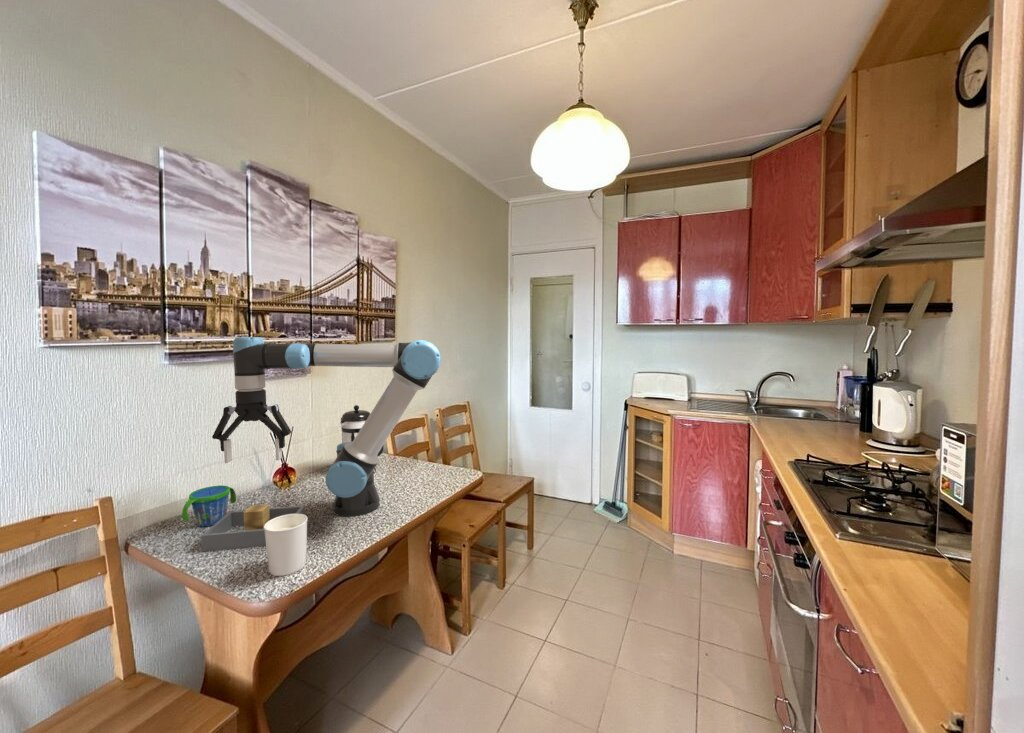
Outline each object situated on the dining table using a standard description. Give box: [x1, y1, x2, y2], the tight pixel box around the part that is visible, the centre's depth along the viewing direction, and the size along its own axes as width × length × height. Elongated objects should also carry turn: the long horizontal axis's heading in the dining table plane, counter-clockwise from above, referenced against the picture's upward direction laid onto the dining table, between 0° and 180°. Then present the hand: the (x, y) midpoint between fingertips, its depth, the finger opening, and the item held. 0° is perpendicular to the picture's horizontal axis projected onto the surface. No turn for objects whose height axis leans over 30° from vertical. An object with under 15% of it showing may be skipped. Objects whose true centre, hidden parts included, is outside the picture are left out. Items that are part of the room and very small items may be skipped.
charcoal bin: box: [200, 504, 306, 552], centre depth 121 cm, size 22×16×4 cm
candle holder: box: [264, 514, 308, 577], centre depth 103 cm, size 10×10×12 cm
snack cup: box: [181, 484, 237, 527], centre depth 128 cm, size 16×10×10 cm
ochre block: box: [243, 504, 270, 531], centre depth 120 cm, size 5×5×8 cm
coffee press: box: [339, 404, 385, 474], centre depth 176 cm, size 17×16×30 cm
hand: (254, 460), depth 119 cm, fingers open, 13 cm apart
